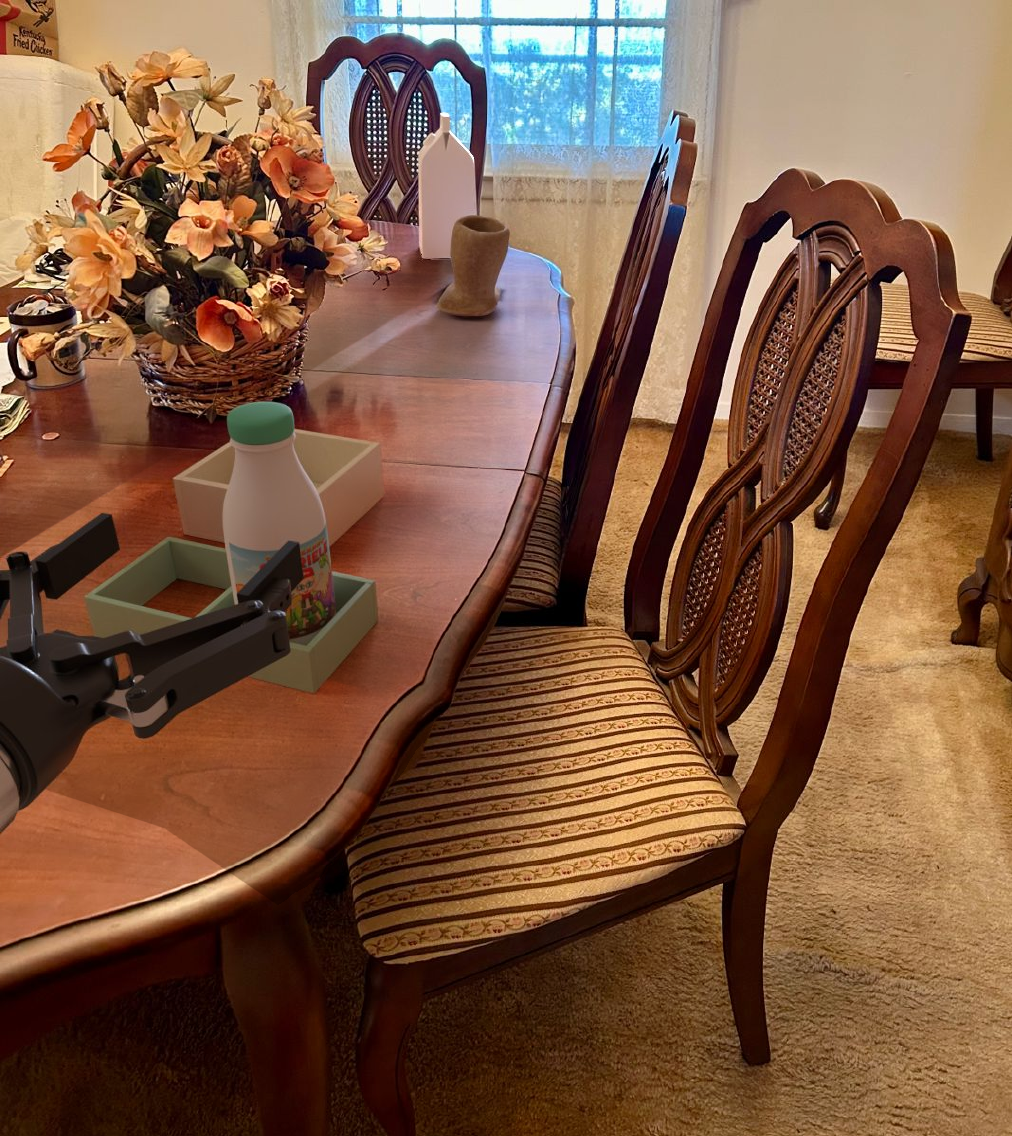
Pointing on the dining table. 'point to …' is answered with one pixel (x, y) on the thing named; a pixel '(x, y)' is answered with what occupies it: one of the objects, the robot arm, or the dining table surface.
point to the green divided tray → (205, 564)
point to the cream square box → (331, 463)
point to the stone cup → (475, 266)
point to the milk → (443, 189)
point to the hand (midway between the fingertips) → (201, 544)
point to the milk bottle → (276, 514)
